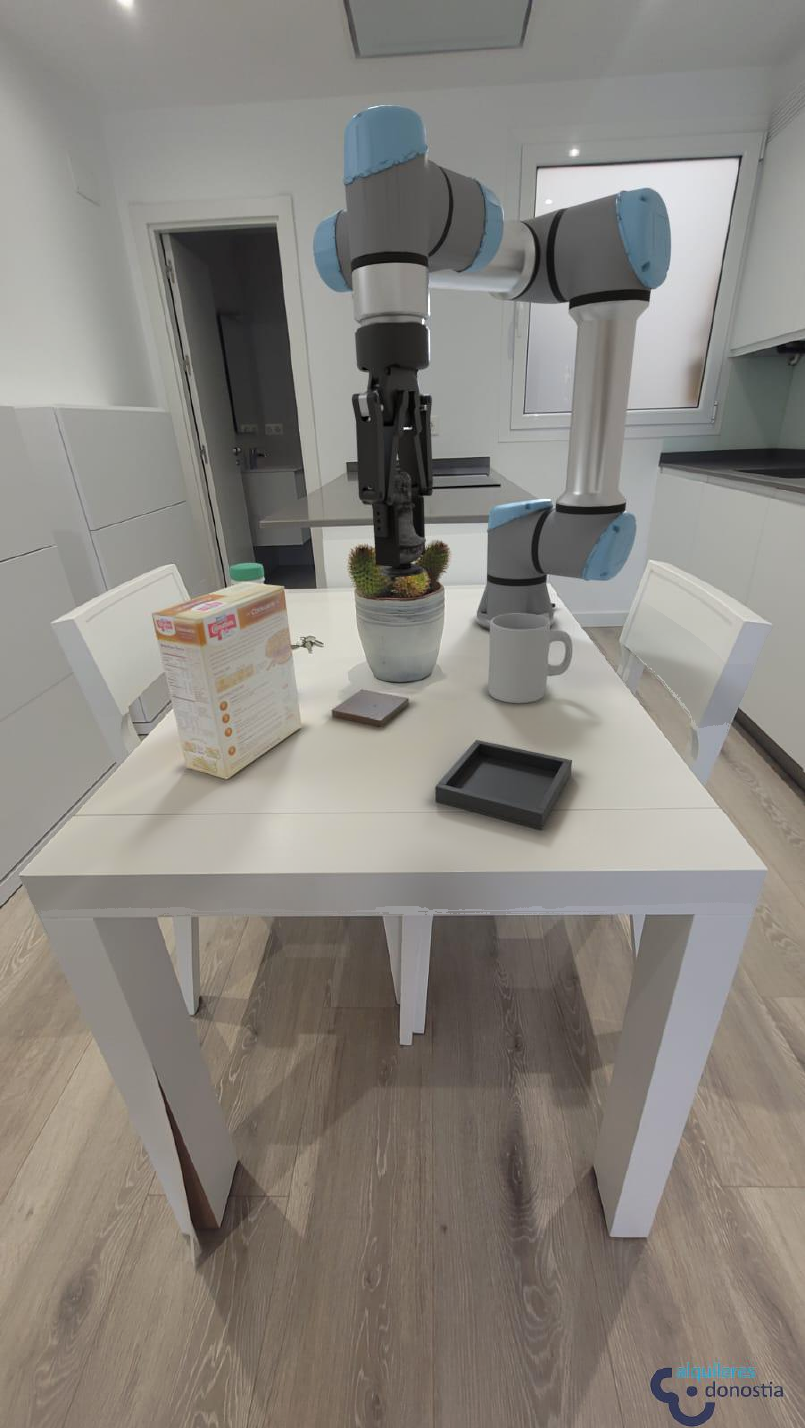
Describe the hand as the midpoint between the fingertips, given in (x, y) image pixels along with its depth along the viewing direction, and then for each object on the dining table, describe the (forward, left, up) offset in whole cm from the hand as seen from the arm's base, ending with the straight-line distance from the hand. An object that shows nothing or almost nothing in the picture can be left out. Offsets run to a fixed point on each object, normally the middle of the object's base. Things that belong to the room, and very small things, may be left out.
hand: (401, 559), depth 69 cm
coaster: (-3, -8, -22) cm, 24 cm away
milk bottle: (0, -25, -23) cm, 33 cm away
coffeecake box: (+13, -17, -23) cm, 31 cm away
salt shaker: (0, 0, -2) cm, 2 cm away
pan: (+8, +16, -22) cm, 29 cm away
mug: (-18, +11, -23) cm, 31 cm away
